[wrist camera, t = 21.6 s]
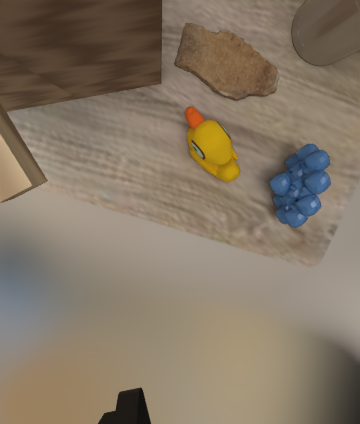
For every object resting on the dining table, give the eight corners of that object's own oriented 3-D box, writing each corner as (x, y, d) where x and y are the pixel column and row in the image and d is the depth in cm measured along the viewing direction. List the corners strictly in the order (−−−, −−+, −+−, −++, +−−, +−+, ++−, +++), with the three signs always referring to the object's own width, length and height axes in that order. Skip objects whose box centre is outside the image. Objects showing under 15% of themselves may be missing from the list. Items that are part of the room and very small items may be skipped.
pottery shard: (194, 9, 43) (196, 3, 41) (284, 73, 45) (289, 71, 44) (165, 60, 44) (165, 57, 42) (254, 121, 46) (258, 120, 45)
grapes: (264, 139, 47) (299, 136, 35) (306, 146, 47) (354, 146, 35) (248, 213, 49) (276, 234, 37) (288, 220, 49) (328, 242, 38)
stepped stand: (145, -3, 42) (100, -451, 10) (161, 83, 44) (163, -73, 13) (-32, 29, 41) (-643, -346, 10) (-7, 113, 43) (-434, 29, 12)
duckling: (168, 126, 45) (170, 120, 36) (197, 103, 45) (207, 91, 35) (213, 187, 48) (227, 197, 38) (241, 165, 47) (262, 170, 37)
